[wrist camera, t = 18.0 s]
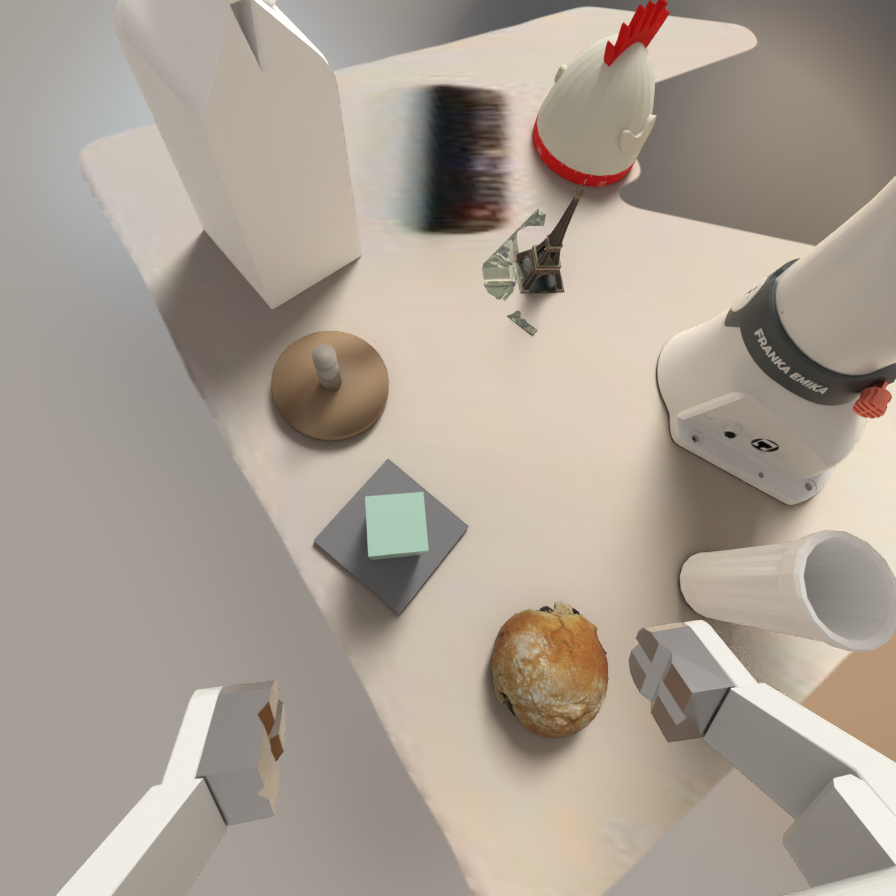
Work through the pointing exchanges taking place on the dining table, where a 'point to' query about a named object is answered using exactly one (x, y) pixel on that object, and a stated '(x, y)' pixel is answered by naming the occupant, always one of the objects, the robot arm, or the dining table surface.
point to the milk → (249, 134)
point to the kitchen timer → (602, 105)
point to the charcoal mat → (391, 575)
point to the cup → (799, 589)
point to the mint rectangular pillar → (396, 525)
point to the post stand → (330, 385)
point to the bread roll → (550, 670)
